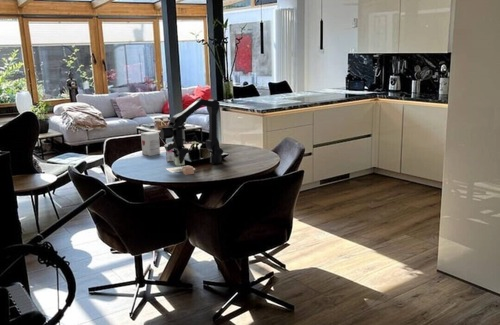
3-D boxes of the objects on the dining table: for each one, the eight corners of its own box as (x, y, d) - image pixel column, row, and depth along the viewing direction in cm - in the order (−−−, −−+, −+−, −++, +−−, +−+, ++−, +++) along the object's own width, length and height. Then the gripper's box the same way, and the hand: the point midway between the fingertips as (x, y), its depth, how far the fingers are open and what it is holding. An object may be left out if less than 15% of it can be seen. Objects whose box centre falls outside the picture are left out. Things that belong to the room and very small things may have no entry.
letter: (188, 165, 288) (188, 165, 288) (195, 169, 279) (195, 169, 278) (165, 169, 281) (165, 168, 281) (171, 173, 272) (171, 172, 272)
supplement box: (141, 154, 323) (140, 132, 319) (152, 152, 330) (150, 131, 326) (150, 156, 317) (148, 134, 314) (160, 153, 324) (159, 132, 320)
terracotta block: (190, 172, 273) (190, 165, 272) (193, 174, 269) (193, 167, 268) (182, 173, 271) (182, 166, 270) (185, 175, 266) (185, 168, 265)
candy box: (175, 162, 299) (173, 136, 295) (166, 161, 300) (164, 136, 296) (182, 157, 312) (181, 132, 308) (174, 157, 313) (172, 132, 309)
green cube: (181, 163, 283) (181, 156, 282) (184, 164, 279) (184, 157, 278) (174, 164, 281) (174, 156, 280) (177, 165, 277) (176, 158, 276)
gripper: (160, 136, 280) (161, 161, 284) (170, 141, 264) (172, 167, 268) (177, 134, 286) (179, 159, 289) (188, 139, 270) (190, 165, 273)
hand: (179, 162), depth 280 cm, fingers closed on green cube, 4 cm apart
